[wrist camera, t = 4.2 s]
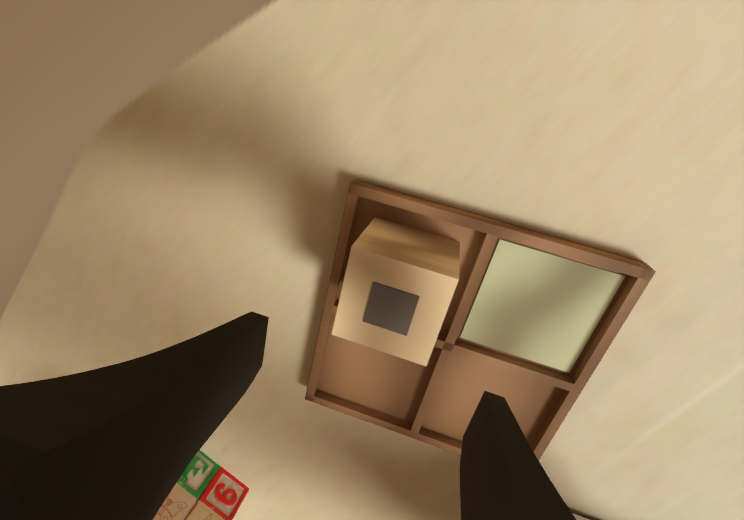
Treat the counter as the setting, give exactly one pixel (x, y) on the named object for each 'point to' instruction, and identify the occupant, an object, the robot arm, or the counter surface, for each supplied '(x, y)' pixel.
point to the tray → (480, 326)
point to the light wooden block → (397, 290)
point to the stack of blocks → (203, 493)
